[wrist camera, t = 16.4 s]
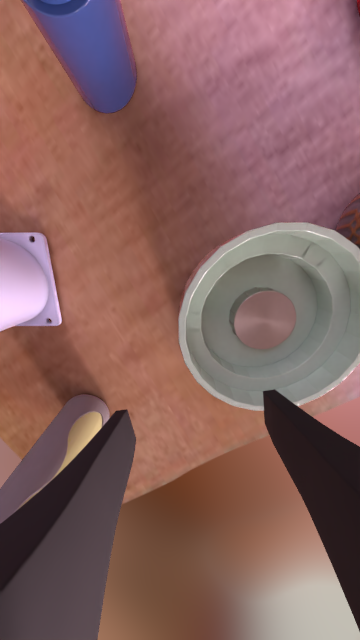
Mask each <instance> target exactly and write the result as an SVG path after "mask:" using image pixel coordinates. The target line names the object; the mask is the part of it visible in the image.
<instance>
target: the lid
mask: <svg viewBox="0 0 360 640" xmlns="http://www.w3.org/2000/svg"><path fill="white" fill-rule="evenodd" d="M229 311H230V315H229V322H230V325H231V327H232V329H233V330H232V331H233V333H234V334H235V335H237V337H238V338H239V339H240V341H241V342H242V343H244V344H245V345H247V346H249V347H251V348H255V349H269V348H272V347H275V346H277V345H279V344H281V343H282V342H283V341H285V340H286V339H287V338H288V337H289V335H290V334H291V333H292V331H293V329H294V326H295V323H296V310H295V307H294V305H293V303H292V302H291V300H290V299H289V298H288V297H287V296H285V295H284V294H283V293H280V292H277V291H274V289H271V288H268V287H266V288H257V287H255V288H253V289H250V290H248V291H246V292H245V291H244V293H242V294H241V295H240V296H239V297H238V298H237V299H235V302H234V303H233V305H232V307H231V310H229Z"/></svg>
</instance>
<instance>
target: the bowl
mask: <svg viewBox="0 0 360 640" xmlns="http://www.w3.org/2000/svg"><path fill="white" fill-rule="evenodd" d="M255 287H257V288H266V287H268V288H271V289H274V291H277V292H280V293H283V294H284V295H285V296H287V297H288V298H289V299H290V300H291V302H292V303H293V305H294V307H295V310H296V323H295V326H294V329H293V331H292V333H291V334H290V335H289V337H288V338H287V339H286V340H285V341H283V342H282V343H281V344H279V345H277V346H275V347H272V348H269V349H255V348H251V347H249V346H247V345H245V344H244V343H242V342H241V341H240V339H239V338H238V337H237V335H235V334H234V333H233V331H232V330H233V329H232V327H231V325H230V322H229V315H230V311H229V310H231V307H232V305H233V303H234V302H235V299H237V298H238V297H239V296H240V295H241V294H242V293H244V291H245V292H246V291H248V290H250V289H253V288H255ZM179 344H180V348H181V351H182V354H183V358H184V361H185V363H186V366H187V367H188V369H189V370H190V372H191V373H192V375H193V376H194V378H195V379H196V381H197V382H198V383H199V384H200V385H201V386H202V387H204V388H205V389H206V390H207V391H208V392H209V393H210V394H211V395H213V396H214V397H216V398H218V399H220V400H222V401H224V402H226V403H228V404H230V405H233V406H236V407H241V408H245V409H249V410H254V411H264V401H263V391H267V390H274V389H275V390H276V391H278V392H279V393H280V394H282V395H283V396H284V397H286V398H287V399H288V400H290V401H291V402H292V403H294V404H295V405H296V406H300V405H302V404H305V403H307V402H309V401H312V400H314V399H316V398H319V397H321V396H323V395H324V394H326V393H327V392H328V391H330V390H331V389H333V388H334V387H336V386H337V385H338V384H340V383H341V382H342V381H343V380H344V379H345V378H346V377H347V376H348V375H349V374H350V373H351V372H352V371H353V370H354V369H355V368H356V367H357V366H358V365H359V363H360V249H359V247H357V246H356V245H355V244H354V243H352V242H351V241H349V240H348V239H346V238H345V237H344V236H342V235H341V234H339V233H338V232H337V231H335V230H332V229H329V228H325V227H322V226H318V225H315V224H312V223H307V222H278V223H273V224H270V225H266V226H263V227H259V228H256V229H252V230H249V231H246V232H244V233H242V234H239V235H237V236H234V237H232V238H230V239H229V240H227V241H225V242H224V243H222V244H220V245H219V246H217V247H215V248H214V249H213V250H211V251H210V252H209V253H208V254H207V255H206V256H205V257H204V258H203V259H202V260H201V261H200V262H199V263H198V264H197V266H196V267H195V268H194V270H193V272H192V274H191V275H190V277H189V279H188V281H187V282H186V284H185V286H184V290H183V294H182V298H181V301H180V306H179Z"/></svg>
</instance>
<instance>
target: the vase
mask: <svg viewBox="0 0 360 640" xmlns="http://www.w3.org/2000/svg"><path fill="white" fill-rule="evenodd" d="M336 231H337V232H338V233H339V234H341V235H342V236H344V237H345V238H346V239H348V240H349V241H351V242H352V243H354V244H355V245H356V246H357V247H359V249H360V193H359V194H358V195H357V196H356V197H355V198H354V199H353V200H352V201H351V202H350V204H349V205H348V206H347V207H346V209H345V210H344V212H343V214H342V215H341V217H340V220H339V222H338V225H337V229H336Z"/></svg>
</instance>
